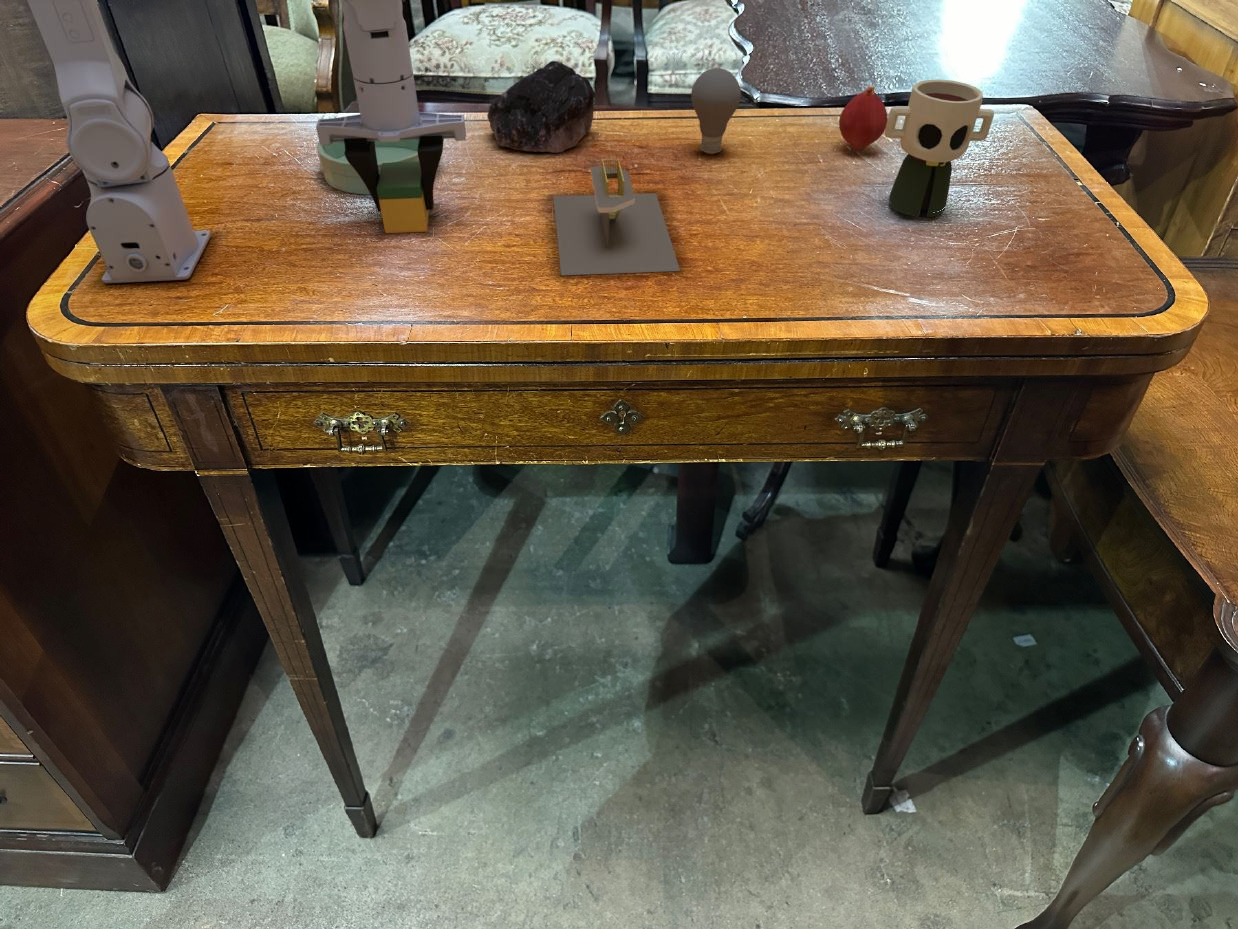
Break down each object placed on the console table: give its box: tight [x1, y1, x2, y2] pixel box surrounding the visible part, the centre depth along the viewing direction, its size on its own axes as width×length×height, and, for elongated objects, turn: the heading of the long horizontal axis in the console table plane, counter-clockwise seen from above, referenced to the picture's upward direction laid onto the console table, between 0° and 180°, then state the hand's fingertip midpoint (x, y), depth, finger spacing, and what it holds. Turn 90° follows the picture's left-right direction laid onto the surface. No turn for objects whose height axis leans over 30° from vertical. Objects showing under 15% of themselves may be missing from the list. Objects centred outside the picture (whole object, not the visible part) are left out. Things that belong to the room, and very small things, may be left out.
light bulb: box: [690, 67, 742, 155], centre depth 101 cm, size 6×6×10 cm
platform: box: [552, 158, 681, 276], centre depth 86 cm, size 12×18×6 cm, turn 6°
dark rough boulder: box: [486, 60, 596, 153], centre depth 104 cm, size 13×14×10 cm
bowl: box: [316, 140, 419, 195], centre depth 97 cm, size 13×13×4 cm
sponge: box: [377, 162, 430, 234], centre depth 88 cm, size 6×4×5 cm
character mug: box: [884, 79, 995, 218], centre depth 89 cm, size 11×7×13 cm, turn 87°
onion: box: [838, 85, 888, 152], centre depth 103 cm, size 6×6×8 cm
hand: (405, 206), depth 89 cm, fingers closed on sponge, 4 cm apart
